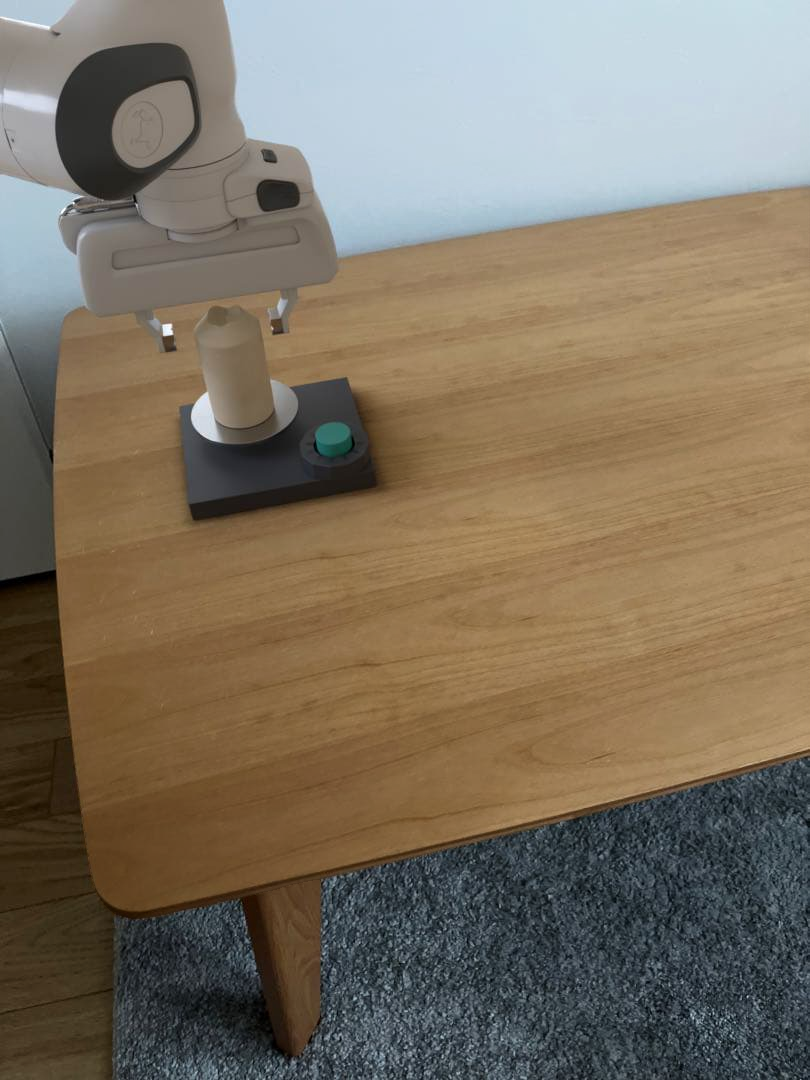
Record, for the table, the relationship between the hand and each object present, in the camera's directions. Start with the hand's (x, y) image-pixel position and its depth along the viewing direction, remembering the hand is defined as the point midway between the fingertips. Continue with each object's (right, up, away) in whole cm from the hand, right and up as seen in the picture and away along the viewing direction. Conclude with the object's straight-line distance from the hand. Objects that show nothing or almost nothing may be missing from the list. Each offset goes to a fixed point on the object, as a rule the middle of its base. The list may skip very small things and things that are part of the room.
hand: (224, 339), depth 85 cm
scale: (+3, -9, +7) cm, 12 cm away
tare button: (+9, -9, +2) cm, 13 cm away
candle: (+1, -5, +5) cm, 8 cm away
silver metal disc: (+1, -5, +5) cm, 8 cm away
